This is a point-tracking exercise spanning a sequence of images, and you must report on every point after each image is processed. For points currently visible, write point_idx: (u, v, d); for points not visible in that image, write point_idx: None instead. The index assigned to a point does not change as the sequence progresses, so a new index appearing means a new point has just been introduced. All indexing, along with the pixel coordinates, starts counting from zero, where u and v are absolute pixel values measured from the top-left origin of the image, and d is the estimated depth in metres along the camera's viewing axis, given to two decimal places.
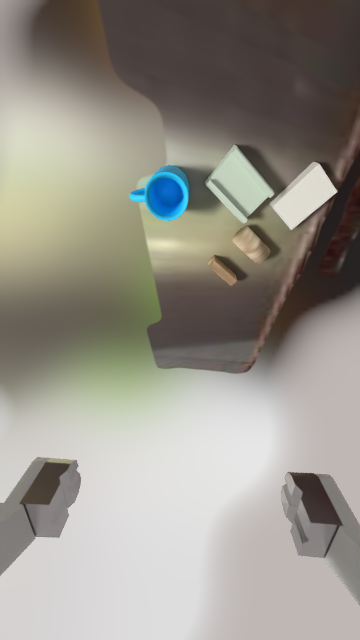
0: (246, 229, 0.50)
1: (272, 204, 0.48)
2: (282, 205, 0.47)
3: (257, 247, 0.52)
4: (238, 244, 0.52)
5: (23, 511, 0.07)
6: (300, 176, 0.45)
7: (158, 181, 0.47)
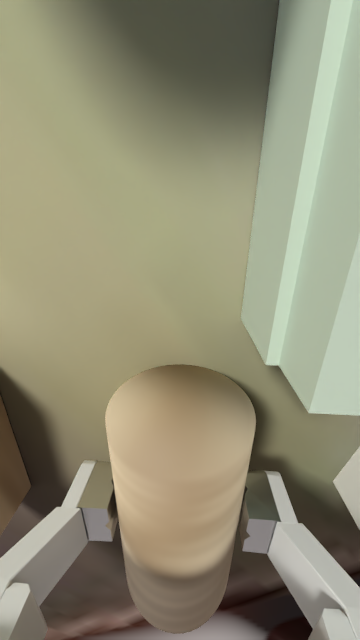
0: (241, 430, 0.06)
1: None
2: None
3: (206, 573, 0.07)
4: (117, 470, 0.06)
5: (80, 515, 0.07)
6: None
7: None
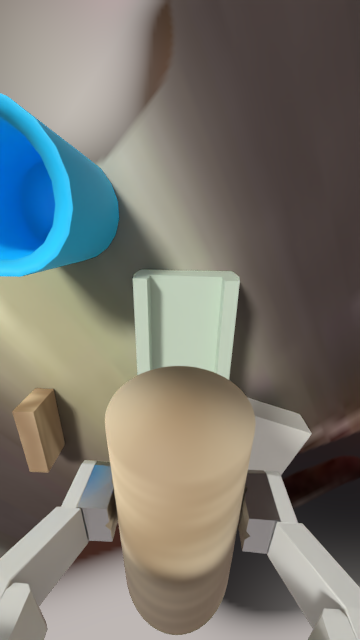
0: (241, 432, 0.06)
1: None
2: None
3: (205, 575, 0.07)
4: (117, 471, 0.06)
5: (80, 515, 0.07)
6: (278, 414, 0.24)
7: None
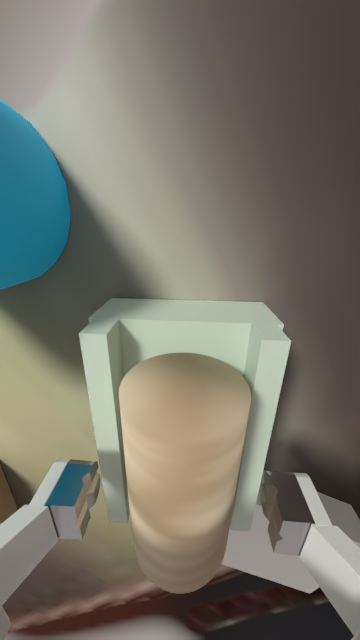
0: (238, 403, 0.07)
1: None
2: (254, 519, 0.15)
3: (208, 533, 0.08)
4: (131, 440, 0.07)
5: (48, 513, 0.07)
6: (326, 511, 0.16)
7: None
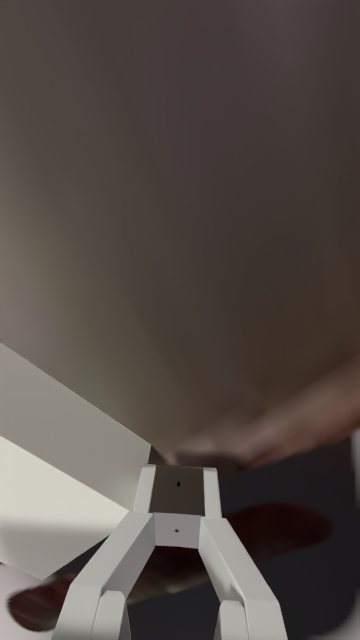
0: None
1: None
2: None
3: None
4: None
5: (152, 520, 0.07)
6: (81, 437, 0.09)
7: None
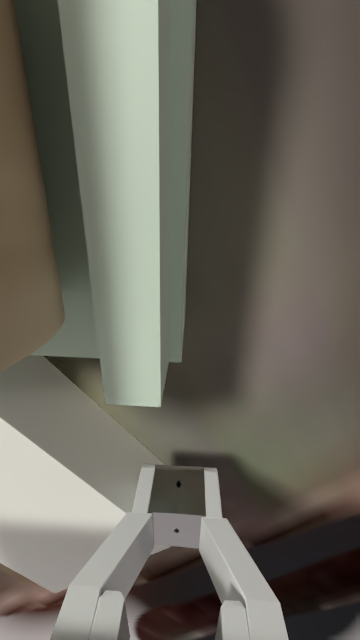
0: None
1: None
2: None
3: None
4: None
5: (152, 520, 0.07)
6: (124, 466, 0.09)
7: None
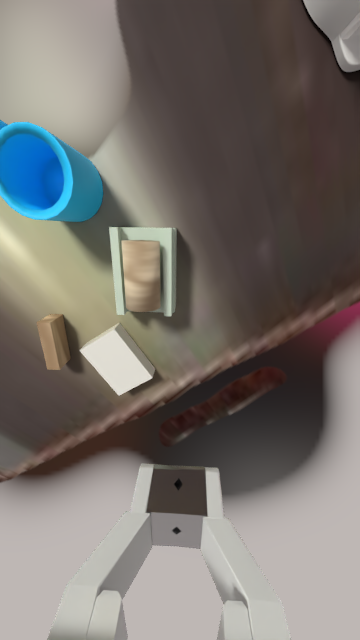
0: (154, 241, 0.26)
1: (117, 328, 0.35)
2: (113, 341, 0.35)
3: (147, 282, 0.27)
4: (124, 249, 0.26)
5: (150, 520, 0.07)
6: (143, 359, 0.37)
7: None
